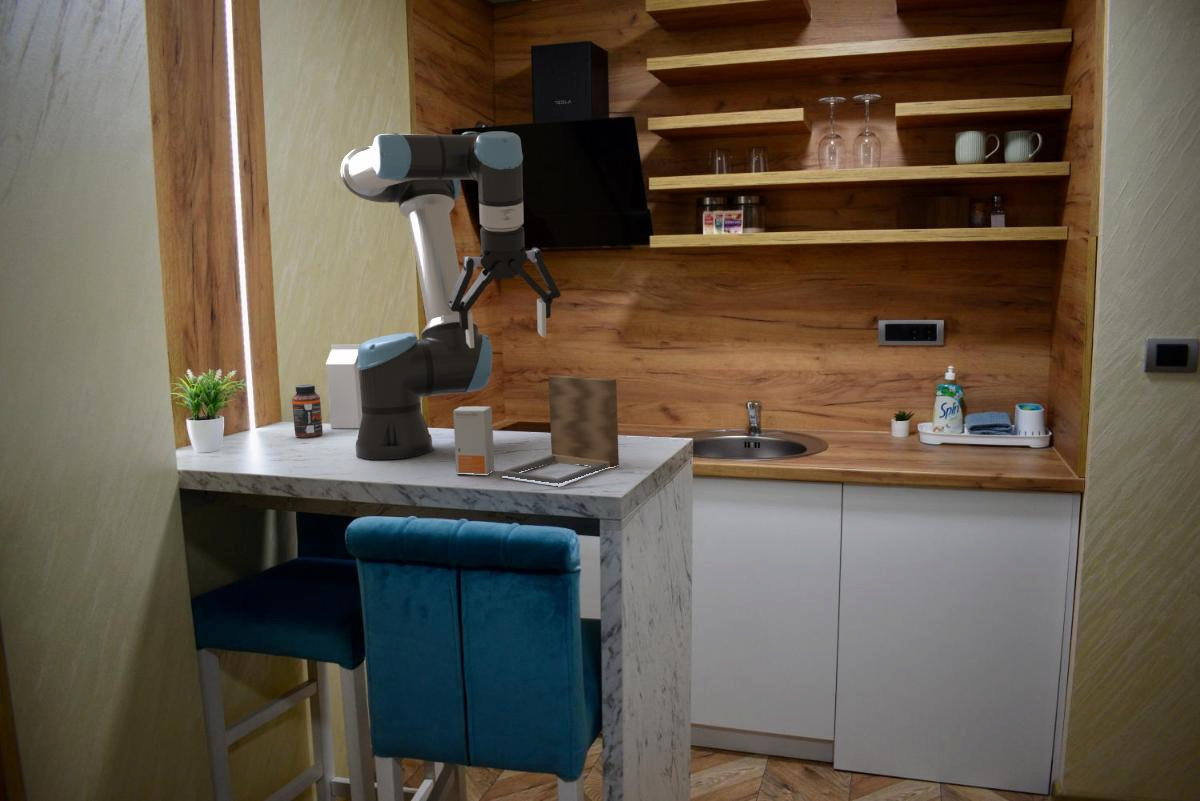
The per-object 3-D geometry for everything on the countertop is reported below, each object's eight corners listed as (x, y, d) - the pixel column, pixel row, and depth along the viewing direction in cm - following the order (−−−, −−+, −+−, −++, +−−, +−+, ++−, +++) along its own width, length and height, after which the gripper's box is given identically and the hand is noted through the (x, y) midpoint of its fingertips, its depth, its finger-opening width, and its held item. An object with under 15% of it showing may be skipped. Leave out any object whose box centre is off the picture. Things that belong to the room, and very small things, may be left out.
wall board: (551, 459, 177) (548, 376, 174) (558, 457, 178) (555, 375, 176) (612, 468, 169) (609, 381, 166) (618, 466, 170) (616, 379, 167)
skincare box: (455, 475, 167) (451, 410, 165) (464, 470, 171) (460, 405, 169) (488, 476, 166) (484, 410, 164) (495, 470, 170) (492, 406, 168)
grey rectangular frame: (501, 478, 165) (500, 471, 164) (554, 460, 176) (553, 454, 176) (559, 487, 157) (558, 480, 157) (610, 468, 169) (610, 461, 169)
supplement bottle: (318, 438, 204) (314, 387, 202) (291, 438, 204) (286, 387, 202) (326, 432, 210) (322, 382, 208) (300, 433, 210) (295, 383, 208)
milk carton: (359, 429, 213) (352, 346, 209) (330, 428, 214) (323, 346, 211) (373, 422, 220) (366, 342, 216) (345, 422, 221) (338, 342, 218)
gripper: (435, 239, 153) (444, 357, 163) (577, 224, 162) (577, 337, 171) (425, 227, 159) (434, 342, 169) (562, 213, 168) (563, 323, 177)
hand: (506, 340), depth 170 cm, fingers open, 13 cm apart
